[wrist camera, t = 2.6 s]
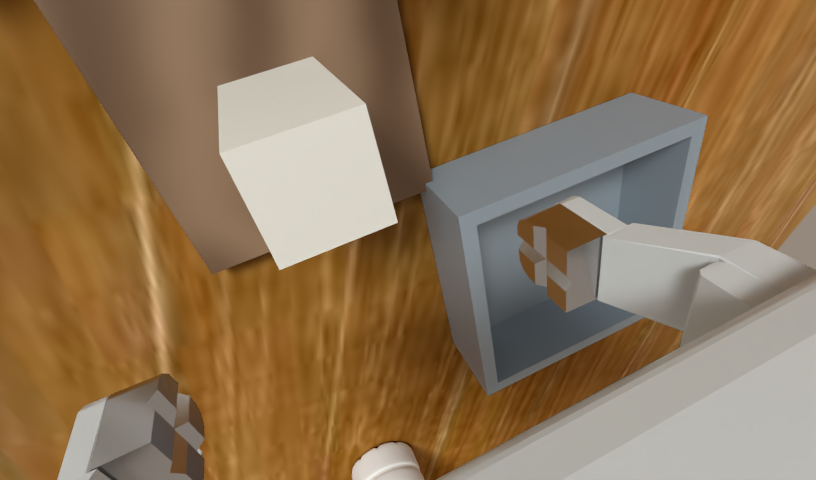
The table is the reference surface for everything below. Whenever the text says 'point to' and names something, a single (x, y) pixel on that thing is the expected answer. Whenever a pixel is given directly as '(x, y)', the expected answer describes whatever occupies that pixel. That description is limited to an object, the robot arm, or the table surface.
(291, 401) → the table surface
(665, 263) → the robot arm
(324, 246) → the ivory rectangular pillar
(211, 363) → the table surface
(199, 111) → the walnut base
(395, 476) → the water bottle
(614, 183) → the slate bin
